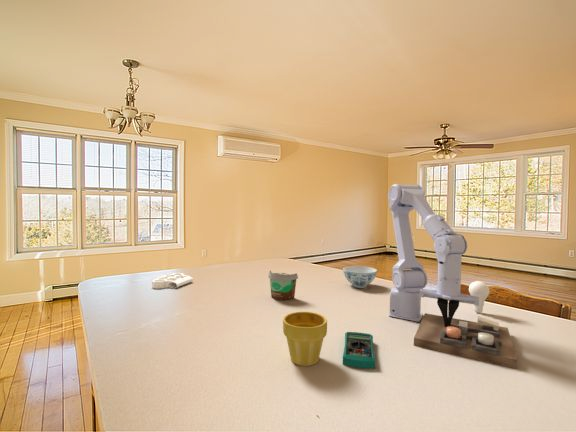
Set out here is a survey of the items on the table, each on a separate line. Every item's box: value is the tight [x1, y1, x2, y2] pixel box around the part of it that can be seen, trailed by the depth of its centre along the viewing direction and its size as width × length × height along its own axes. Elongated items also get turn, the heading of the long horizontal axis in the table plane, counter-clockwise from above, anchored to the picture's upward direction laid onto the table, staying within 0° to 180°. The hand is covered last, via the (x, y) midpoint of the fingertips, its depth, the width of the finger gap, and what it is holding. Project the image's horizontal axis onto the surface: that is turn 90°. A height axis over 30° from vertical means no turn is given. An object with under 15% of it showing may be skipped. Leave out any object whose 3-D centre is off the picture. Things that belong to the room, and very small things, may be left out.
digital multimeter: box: [342, 331, 377, 370], centre depth 77 cm, size 7×15×3 cm, turn 167°
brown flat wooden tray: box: [413, 312, 518, 369], centre depth 86 cm, size 22×22×4 cm
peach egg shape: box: [446, 326, 461, 338], centre depth 80 cm, size 3×3×2 cm
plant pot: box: [282, 311, 328, 367], centre depth 74 cm, size 10×10×10 cm
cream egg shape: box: [478, 332, 494, 345], centre depth 76 cm, size 3×3×2 cm
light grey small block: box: [459, 321, 468, 334], centre depth 85 cm, size 2×4×2 cm, turn 149°
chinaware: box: [342, 265, 378, 289], centre depth 142 cm, size 15×15×8 cm
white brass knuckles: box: [151, 272, 194, 290], centre depth 141 cm, size 3×18×15 cm
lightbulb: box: [468, 280, 490, 314], centre depth 108 cm, size 6×6×11 cm
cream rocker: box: [476, 315, 500, 331], centre depth 89 cm, size 5×4×1 cm
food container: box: [267, 270, 299, 301], centre depth 121 cm, size 12×6×10 cm, turn 68°
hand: (447, 326), depth 87 cm, fingers closed
